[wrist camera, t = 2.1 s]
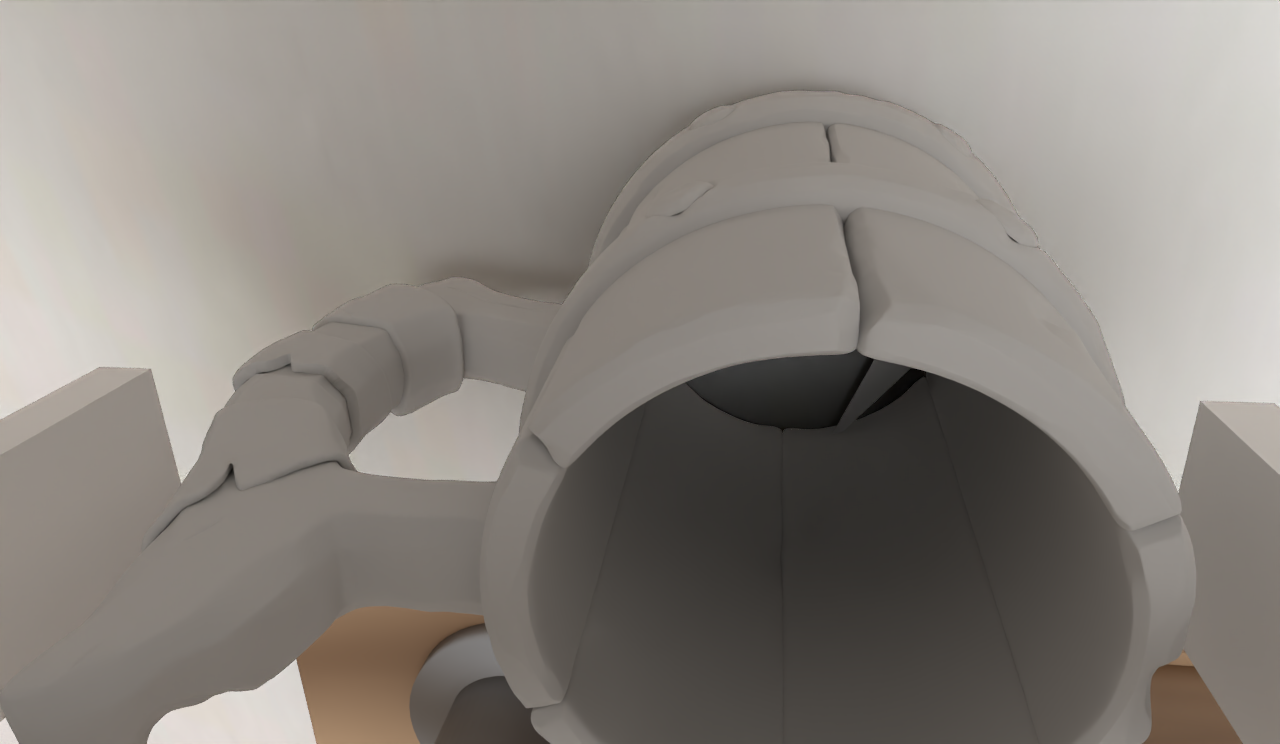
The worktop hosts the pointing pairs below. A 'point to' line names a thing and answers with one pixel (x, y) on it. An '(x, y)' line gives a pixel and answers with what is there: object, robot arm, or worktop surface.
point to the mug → (697, 477)
